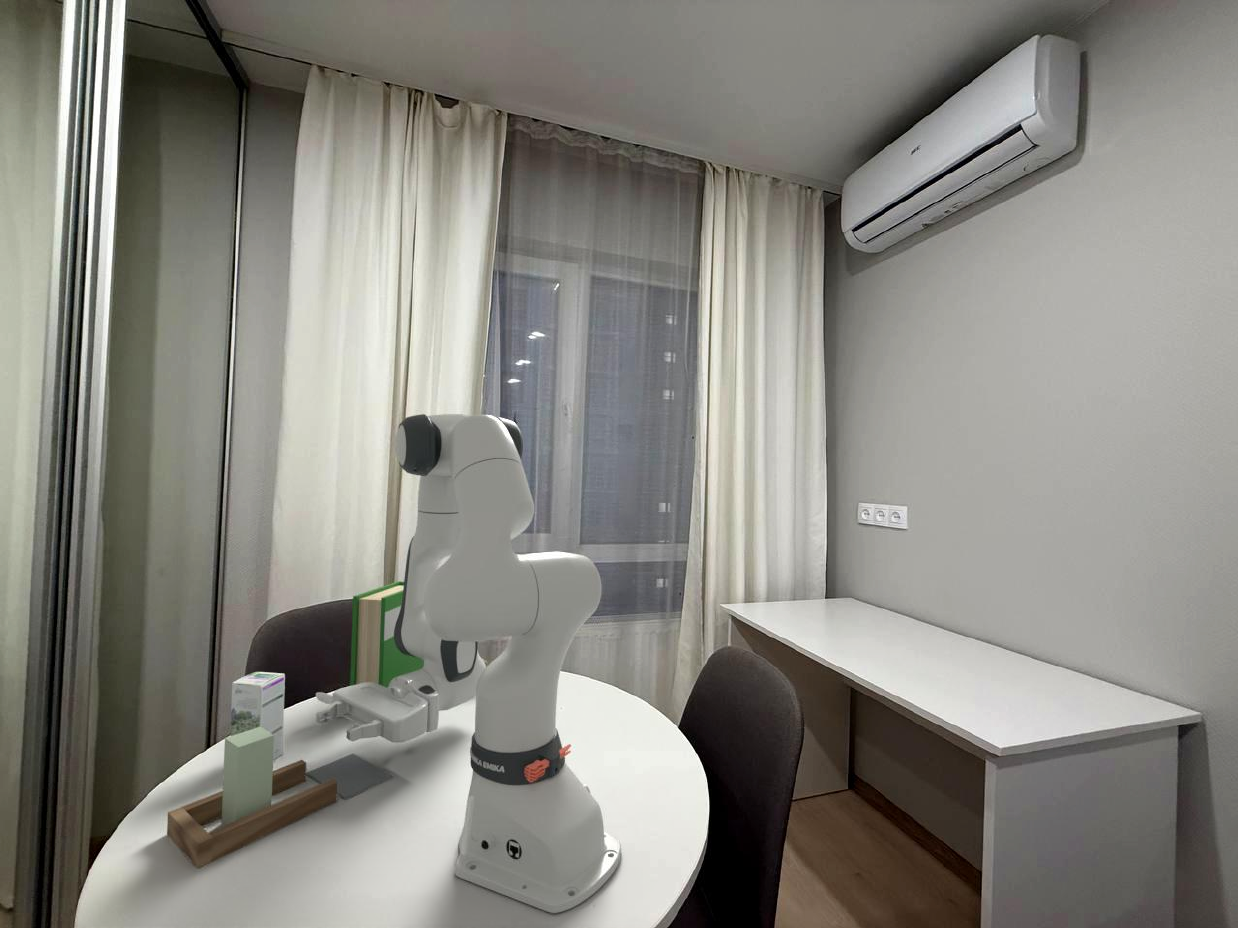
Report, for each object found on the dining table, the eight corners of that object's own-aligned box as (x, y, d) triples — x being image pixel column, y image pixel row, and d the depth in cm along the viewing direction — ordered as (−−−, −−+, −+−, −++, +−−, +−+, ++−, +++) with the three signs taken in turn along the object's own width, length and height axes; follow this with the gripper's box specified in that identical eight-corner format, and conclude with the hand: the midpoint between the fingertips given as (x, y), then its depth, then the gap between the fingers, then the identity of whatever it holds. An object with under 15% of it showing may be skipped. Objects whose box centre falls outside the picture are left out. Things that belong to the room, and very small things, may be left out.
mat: (392, 776, 89) (392, 774, 89) (344, 799, 83) (344, 797, 83) (352, 754, 96) (352, 753, 96) (306, 774, 90) (306, 772, 90)
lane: (336, 801, 82) (337, 781, 82) (197, 868, 68) (198, 843, 68) (301, 777, 89) (301, 759, 89) (166, 834, 74) (167, 812, 74)
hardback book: (381, 713, 113) (385, 598, 114) (349, 710, 114) (353, 596, 115) (423, 682, 131) (426, 582, 132) (395, 680, 132) (398, 581, 133)
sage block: (270, 819, 78) (274, 735, 78) (234, 836, 74) (238, 747, 74) (256, 808, 80) (260, 726, 81) (221, 823, 77) (225, 737, 77)
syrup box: (284, 754, 96) (287, 671, 96) (257, 771, 90) (261, 683, 91) (255, 751, 97) (258, 669, 97) (227, 768, 91) (230, 681, 91)
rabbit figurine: (359, 716, 112) (327, 711, 106) (345, 730, 111) (312, 726, 105) (352, 693, 116) (320, 687, 109) (339, 707, 115) (306, 701, 109)
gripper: (377, 668, 105) (302, 690, 94) (444, 695, 93) (368, 724, 82) (375, 701, 105) (300, 727, 94) (443, 732, 93) (366, 766, 82)
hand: (333, 726), depth 88 cm, fingers open, 8 cm apart
